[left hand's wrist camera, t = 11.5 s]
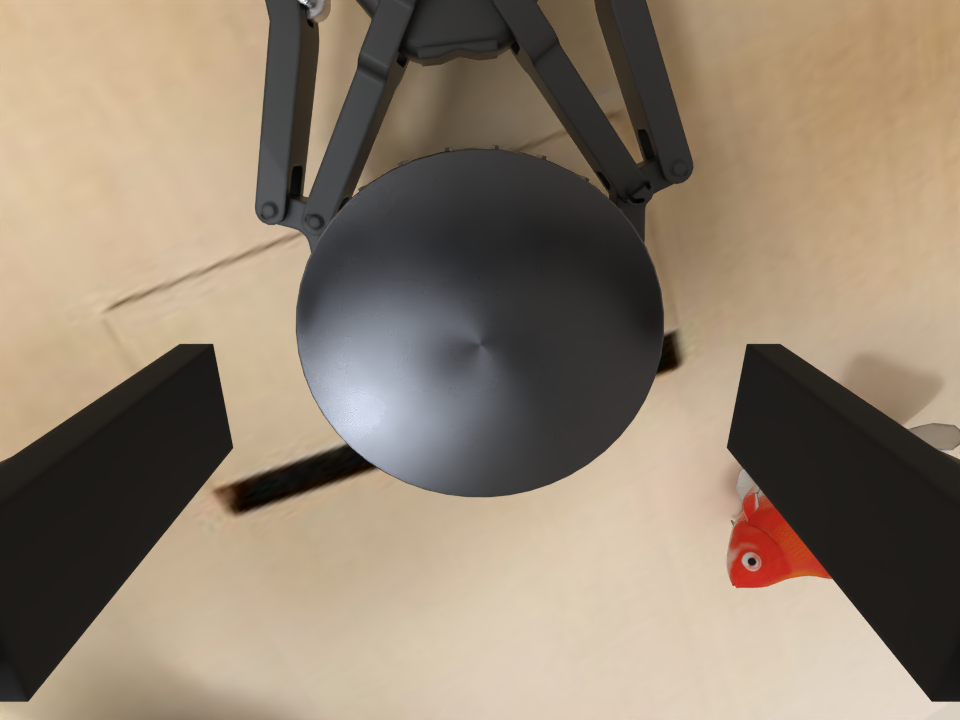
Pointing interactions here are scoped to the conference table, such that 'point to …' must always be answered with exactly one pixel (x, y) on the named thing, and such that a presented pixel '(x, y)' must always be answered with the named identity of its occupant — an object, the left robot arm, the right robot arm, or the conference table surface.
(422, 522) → the conference table surface
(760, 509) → the fish
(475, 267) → the lid
